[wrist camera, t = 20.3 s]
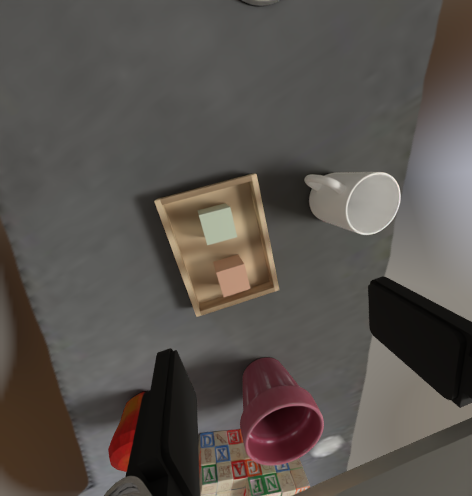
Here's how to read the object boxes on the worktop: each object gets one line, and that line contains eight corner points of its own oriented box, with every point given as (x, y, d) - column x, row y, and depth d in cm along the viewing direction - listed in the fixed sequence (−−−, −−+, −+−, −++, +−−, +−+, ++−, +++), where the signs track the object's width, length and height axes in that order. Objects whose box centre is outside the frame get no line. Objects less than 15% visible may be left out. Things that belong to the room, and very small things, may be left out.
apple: (116, 413, 45) (93, 490, 34) (131, 380, 43) (111, 451, 32) (159, 418, 47) (150, 492, 36) (174, 388, 46) (170, 456, 35)
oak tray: (157, 198, 34) (154, 201, 31) (251, 173, 36) (256, 173, 33) (196, 307, 41) (196, 316, 38) (273, 282, 43) (279, 289, 40)
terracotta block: (213, 261, 38) (216, 272, 34) (238, 254, 39) (244, 263, 35) (220, 284, 40) (223, 297, 36) (244, 276, 40) (250, 288, 36)
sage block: (197, 210, 35) (198, 215, 31) (225, 203, 36) (230, 207, 31) (205, 237, 37) (207, 245, 32) (231, 229, 37) (237, 237, 33)
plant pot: (226, 355, 46) (240, 419, 34) (291, 339, 48) (325, 395, 36) (234, 405, 51) (248, 477, 39) (293, 389, 53) (324, 452, 41)
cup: (334, 228, 42) (377, 244, 32) (281, 199, 38) (312, 207, 28) (359, 186, 40) (411, 190, 31) (306, 152, 36) (347, 144, 27)
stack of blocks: (196, 451, 53) (199, 528, 41) (199, 432, 51) (202, 506, 40) (281, 441, 58) (303, 507, 46) (286, 423, 56) (311, 487, 45)
